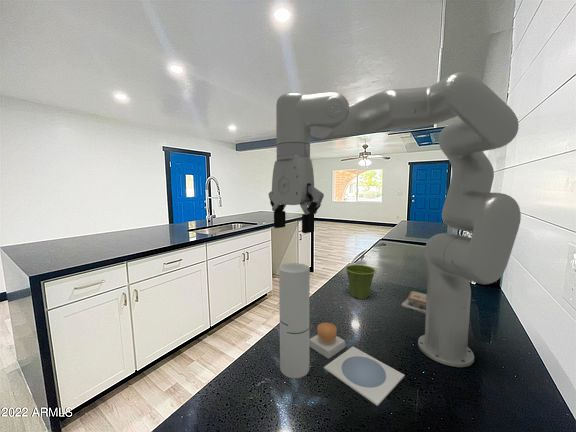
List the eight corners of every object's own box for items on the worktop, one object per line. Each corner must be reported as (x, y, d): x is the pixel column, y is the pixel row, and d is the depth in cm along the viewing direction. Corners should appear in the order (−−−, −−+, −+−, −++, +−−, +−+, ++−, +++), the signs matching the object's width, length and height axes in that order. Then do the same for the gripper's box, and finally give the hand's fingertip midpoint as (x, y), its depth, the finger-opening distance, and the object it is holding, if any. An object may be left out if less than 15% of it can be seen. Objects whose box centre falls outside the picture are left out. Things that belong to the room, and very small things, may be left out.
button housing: (325, 336, 73) (325, 329, 73) (345, 347, 68) (345, 340, 67) (308, 346, 68) (308, 339, 68) (328, 358, 63) (328, 351, 63)
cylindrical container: (292, 353, 65) (291, 261, 63) (315, 365, 61) (315, 266, 58) (274, 368, 60) (272, 268, 57) (297, 383, 55) (297, 274, 53)
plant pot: (361, 304, 93) (361, 275, 92) (338, 293, 103) (339, 267, 102) (381, 297, 99) (382, 270, 98) (358, 287, 109) (358, 263, 108)
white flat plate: (352, 347, 67) (352, 346, 67) (404, 376, 57) (404, 374, 57) (323, 368, 60) (323, 366, 60) (377, 406, 49) (377, 403, 49)
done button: (325, 327, 71) (325, 320, 71) (340, 334, 67) (340, 327, 67) (313, 334, 68) (313, 327, 68) (328, 342, 64) (328, 335, 64)
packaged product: (465, 300, 86) (459, 311, 79) (464, 314, 86) (458, 325, 79) (410, 287, 98) (401, 294, 91) (409, 298, 99) (400, 307, 92)
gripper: (257, 156, 59) (258, 227, 61) (309, 146, 46) (308, 237, 48) (281, 159, 64) (281, 224, 66) (334, 151, 51) (333, 232, 53)
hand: (293, 229), depth 57 cm, fingers open, 9 cm apart
